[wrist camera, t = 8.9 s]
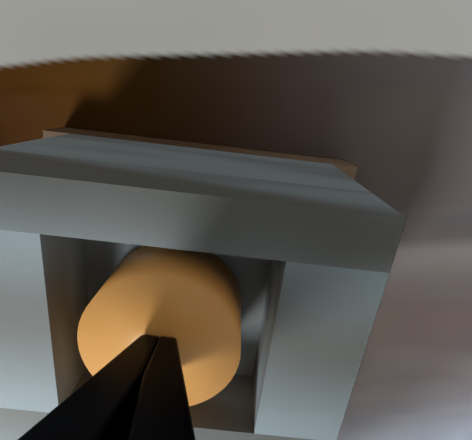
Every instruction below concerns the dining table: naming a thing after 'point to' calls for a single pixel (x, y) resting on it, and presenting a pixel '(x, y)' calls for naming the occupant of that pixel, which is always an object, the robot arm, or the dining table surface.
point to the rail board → (200, 240)
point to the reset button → (169, 315)
